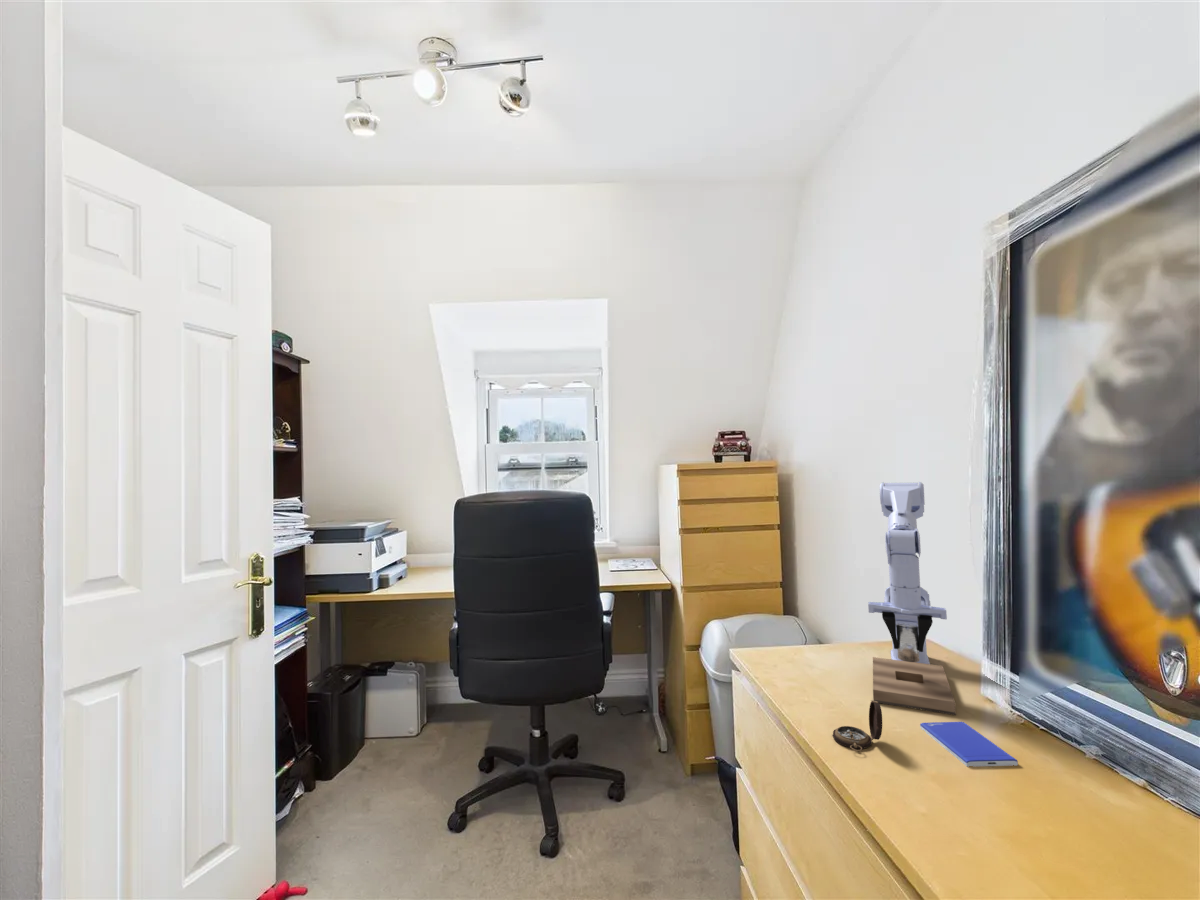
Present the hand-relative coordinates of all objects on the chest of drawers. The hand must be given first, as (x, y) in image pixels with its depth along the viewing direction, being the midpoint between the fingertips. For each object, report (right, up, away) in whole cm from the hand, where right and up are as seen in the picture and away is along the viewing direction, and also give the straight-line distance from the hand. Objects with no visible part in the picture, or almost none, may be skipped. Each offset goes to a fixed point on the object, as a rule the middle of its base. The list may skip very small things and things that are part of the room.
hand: (908, 648), depth 112 cm
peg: (0, -2, 0) cm, 2 cm away
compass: (-21, -9, -21) cm, 32 cm away
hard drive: (-4, -9, -23) cm, 25 cm away
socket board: (0, -9, 0) cm, 8 cm away
